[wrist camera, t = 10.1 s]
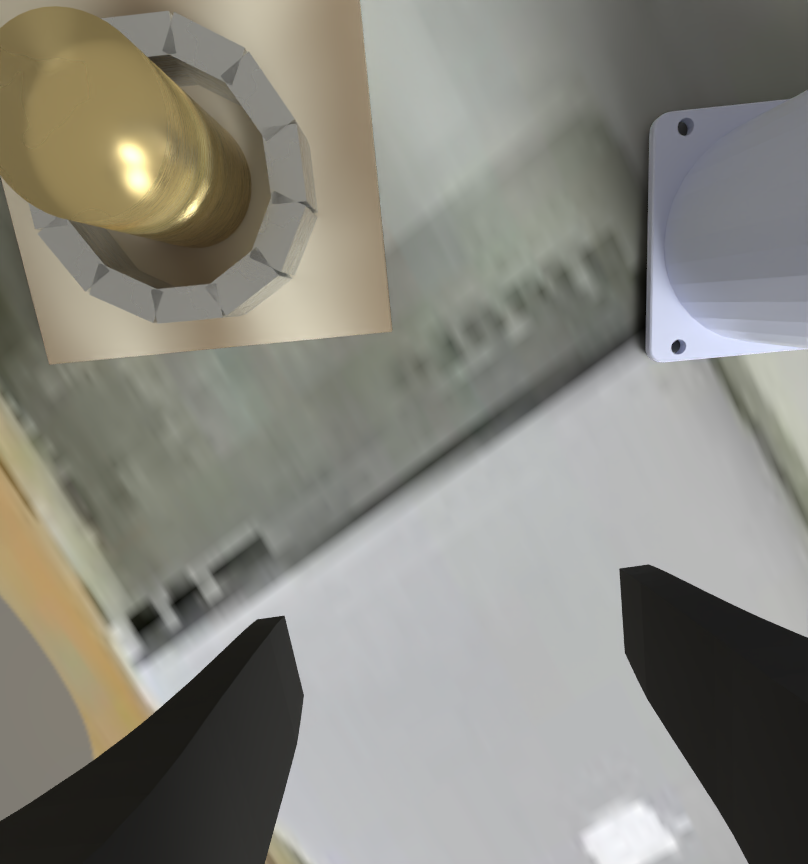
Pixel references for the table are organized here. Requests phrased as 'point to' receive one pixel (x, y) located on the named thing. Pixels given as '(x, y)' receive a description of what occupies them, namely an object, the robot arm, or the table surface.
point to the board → (334, 185)
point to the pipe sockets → (287, 171)
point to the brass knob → (112, 135)
